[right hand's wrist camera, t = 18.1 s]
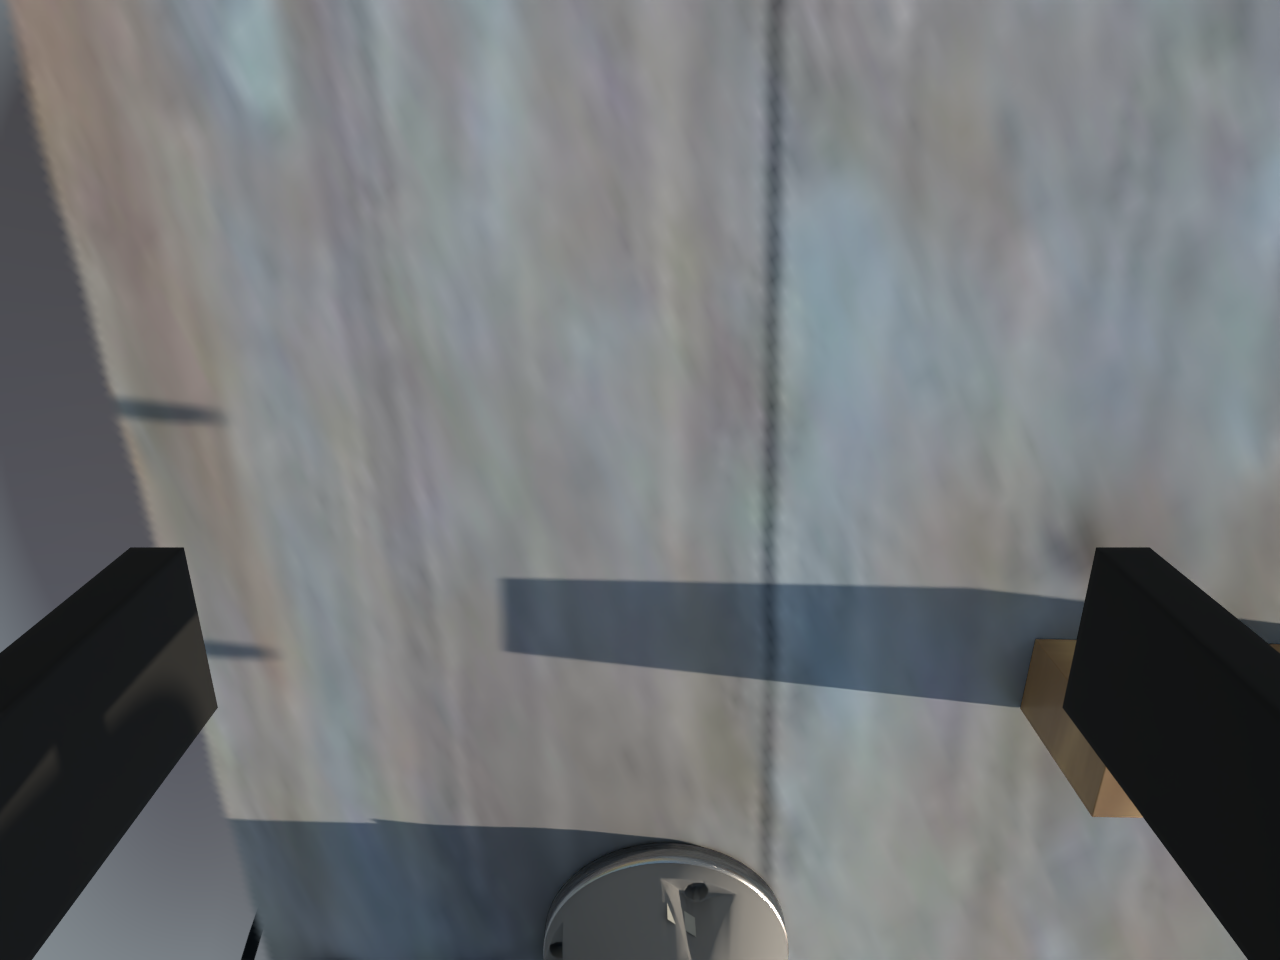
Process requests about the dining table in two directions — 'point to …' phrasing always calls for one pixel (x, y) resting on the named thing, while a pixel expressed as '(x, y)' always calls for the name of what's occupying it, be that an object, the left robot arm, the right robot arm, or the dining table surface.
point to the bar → (1070, 731)
